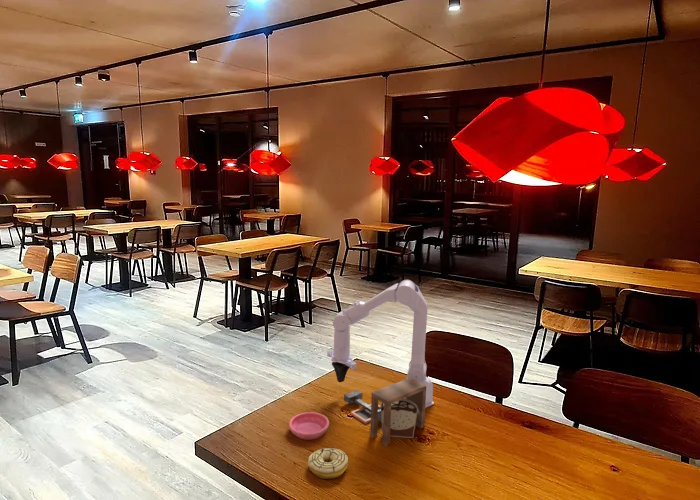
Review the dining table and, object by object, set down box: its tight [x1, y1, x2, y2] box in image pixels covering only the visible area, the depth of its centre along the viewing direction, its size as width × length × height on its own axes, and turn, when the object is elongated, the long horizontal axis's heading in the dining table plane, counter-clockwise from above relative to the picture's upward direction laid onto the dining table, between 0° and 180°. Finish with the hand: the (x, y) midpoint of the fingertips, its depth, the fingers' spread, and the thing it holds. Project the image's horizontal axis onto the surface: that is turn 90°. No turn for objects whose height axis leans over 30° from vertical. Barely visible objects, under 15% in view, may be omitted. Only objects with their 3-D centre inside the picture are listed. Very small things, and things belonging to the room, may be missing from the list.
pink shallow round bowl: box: [288, 411, 330, 441], centre depth 138 cm, size 12×12×3 cm
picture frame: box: [350, 403, 381, 425], centre depth 149 cm, size 11×8×1 cm
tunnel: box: [369, 378, 427, 447], centre depth 138 cm, size 17×7×14 cm, turn 129°
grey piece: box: [343, 389, 382, 422], centre depth 150 cm, size 8×17×4 cm, turn 39°
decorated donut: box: [307, 447, 349, 480], centre depth 120 cm, size 10×11×4 cm
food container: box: [379, 398, 419, 439], centre depth 138 cm, size 12×6×10 cm, turn 84°
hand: (340, 381), depth 160 cm, fingers closed
